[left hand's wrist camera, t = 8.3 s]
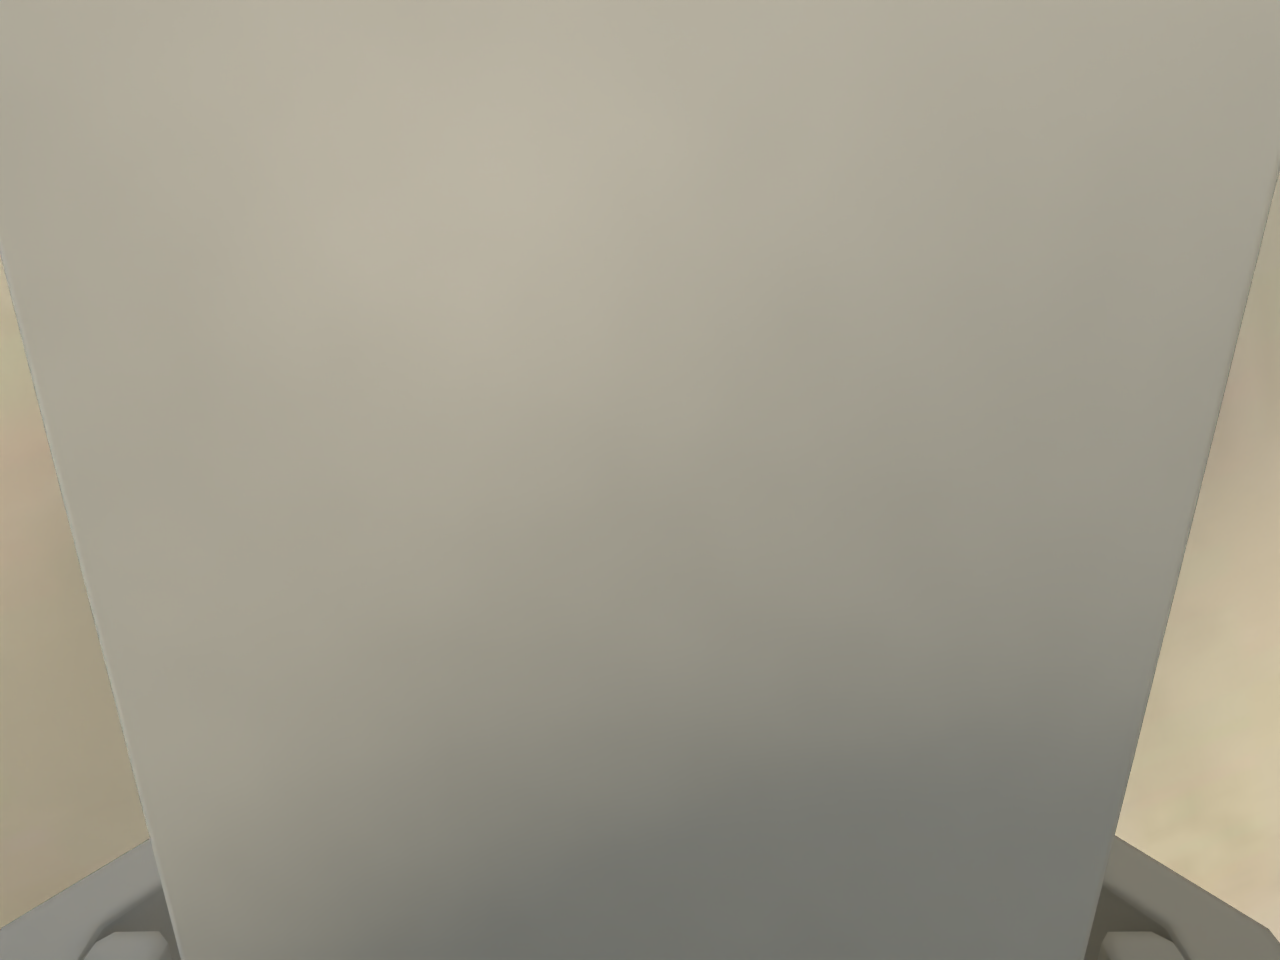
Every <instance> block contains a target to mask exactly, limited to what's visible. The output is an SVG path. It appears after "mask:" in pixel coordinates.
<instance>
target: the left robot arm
mask: <svg viewBox="0 0 1280 960" xmlns="http://www.w3.org/2000/svg"><path fill="white" fill-rule="evenodd" d="M0 960H181V958H180V954H179V950H178V946H177V942H176V938H175V934H174V930H173V926H172V923H171V919H170V915H169V911H168V907H167V903H166V899H165V895H164V891H163V887H162V884H161V880H160V876H159V872H158V868H157V864H156V860H155V856H154V852H153V849H152V845H151V841H150V839H148V840H147V841H145V842H143V843H142V844H140V845H138V846H137V847H135V848H133V849H132V850H130V851H128V852H127V853H125V854H123V855H122V856H120V857H118V858H117V859H115V860H113V861H112V862H110V863H108V864H107V865H105V866H103V867H102V868H100V869H98V870H97V871H95V872H93V873H92V874H90V875H88V876H87V877H85V878H83V879H82V880H80V881H78V882H77V883H75V884H73V885H72V886H70V887H68V888H67V889H65V890H63V891H62V892H60V893H58V894H57V895H55V896H54V897H52V898H50V899H49V900H47V901H45V902H44V903H42V904H40V905H39V906H37V907H35V908H34V909H32V910H30V911H29V912H27V913H25V914H24V915H22V916H20V917H19V918H17V919H15V920H14V921H12V922H10V923H9V924H7V925H5V926H4V927H2V928H1V929H0ZM1084 960H1280V943H1279V942H1278V940H1277V939H1276V938H1275V937H1274V935H1273V934H1272V933H1271V931H1270V930H1269V929H1268V928H1266V927H1264V926H1263V925H1261V924H1260V923H1258V922H1256V921H1255V920H1253V919H1251V918H1250V917H1248V916H1246V915H1245V914H1243V913H1242V912H1240V911H1238V910H1237V909H1235V908H1233V907H1232V906H1230V905H1228V904H1227V903H1225V902H1223V901H1222V900H1220V899H1219V898H1217V897H1215V896H1214V895H1212V894H1210V893H1209V892H1207V891H1205V890H1204V889H1202V888H1201V887H1199V886H1197V885H1196V884H1194V883H1192V882H1191V881H1189V880H1187V879H1186V878H1184V877H1182V876H1181V875H1179V874H1178V873H1176V872H1174V871H1173V870H1171V869H1169V868H1168V867H1166V866H1164V865H1163V864H1161V863H1160V862H1158V861H1156V860H1155V859H1153V858H1151V857H1150V856H1148V855H1146V854H1145V853H1143V852H1141V851H1140V850H1138V849H1137V848H1135V847H1133V846H1132V845H1130V844H1128V843H1127V842H1125V841H1123V840H1122V839H1120V838H1119V837H1117V836H1114V840H1113V844H1112V848H1111V852H1110V856H1109V860H1108V864H1107V868H1106V872H1105V876H1104V880H1103V884H1102V888H1101V892H1100V896H1099V900H1098V904H1097V908H1096V912H1095V916H1094V920H1093V924H1092V928H1091V932H1090V936H1089V941H1088V945H1087V949H1086V953H1085V957H1084Z"/></svg>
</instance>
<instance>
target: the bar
mask: <svg viewBox="0 0 1280 960" xmlns="http://www.w3.org/2000/svg"><path fill="white" fill-rule="evenodd" d="M1279 170H1280V0H0V256H1V260H2V264H3V267H4V271H5V275H6V279H7V283H8V287H9V291H10V295H11V299H12V303H13V306H14V310H15V314H16V318H17V322H18V326H19V330H20V334H21V338H22V342H23V345H24V349H25V353H26V357H27V361H28V365H29V369H30V373H31V377H32V381H33V384H34V388H35V392H36V396H37V400H38V404H39V408H40V412H41V416H42V420H43V423H44V427H45V431H46V435H47V439H48V443H49V447H50V451H51V455H52V459H53V462H54V466H55V470H56V474H57V478H58V482H59V486H60V490H61V494H62V498H63V501H64V505H65V509H66V513H67V517H68V521H69V525H70V529H71V533H72V537H73V540H74V544H75V548H76V552H77V556H78V560H79V564H80V568H81V572H82V576H83V579H84V583H85V587H86V591H87V595H88V599H89V603H90V607H91V611H92V615H93V618H94V622H95V626H96V630H97V634H98V638H99V642H100V646H101V650H102V654H103V657H104V661H105V665H106V669H107V673H108V677H109V681H110V685H111V689H112V693H113V696H114V700H115V704H116V708H117V712H118V716H119V720H120V724H121V728H122V732H123V735H124V739H125V743H126V747H127V751H128V755H129V759H130V763H131V767H132V771H133V774H134V778H135V782H136V786H137V790H138V794H139V798H140V802H141V806H142V810H143V813H144V817H145V821H146V825H147V829H148V833H149V837H150V841H151V845H152V849H153V852H154V856H155V860H156V864H157V868H158V872H159V876H160V880H161V884H162V887H163V891H164V895H165V899H166V903H167V907H168V911H169V915H170V919H171V923H172V926H173V930H174V934H175V938H176V942H177V946H178V950H179V954H180V958H181V960H1084V957H1085V953H1086V949H1087V945H1088V941H1089V936H1090V932H1091V928H1092V924H1093V920H1094V916H1095V912H1096V908H1097V904H1098V900H1099V896H1100V892H1101V888H1102V884H1103V880H1104V876H1105V872H1106V868H1107V864H1108V860H1109V856H1110V852H1111V848H1112V844H1113V840H1114V836H1115V832H1116V828H1117V823H1118V819H1119V815H1120V811H1121V807H1122V803H1123V799H1124V795H1125V791H1126V787H1127V783H1128V779H1129V775H1130V771H1131V767H1132V763H1133V759H1134V755H1135V751H1136V747H1137V743H1138V739H1139V735H1140V731H1141V727H1142V723H1143V719H1144V715H1145V711H1146V706H1147V702H1148V698H1149V694H1150V690H1151V686H1152V682H1153V678H1154V674H1155V670H1156V666H1157V662H1158V658H1159V654H1160V650H1161V646H1162V642H1163V638H1164V634H1165V630H1166V626H1167V622H1168V618H1169V614H1170V610H1171V606H1172V602H1173V598H1174V593H1175V589H1176V585H1177V581H1178V577H1179V573H1180V569H1181V565H1182V561H1183V557H1184V553H1185V549H1186V545H1187V541H1188V537H1189V533H1190V529H1191V525H1192V521H1193V517H1194V513H1195V509H1196V505H1197V501H1198V497H1199V493H1200V489H1201V485H1202V481H1203V476H1204V472H1205V468H1206V464H1207V460H1208V456H1209V452H1210V448H1211V444H1212V440H1213V436H1214V432H1215V428H1216V424H1217V420H1218V416H1219V412H1220V408H1221V404H1222V400H1223V396H1224V392H1225V388H1226V384H1227V380H1228V376H1229V372H1230V368H1231V363H1232V359H1233V355H1234V351H1235V347H1236V343H1237V339H1238V335H1239V331H1240V327H1241V323H1242V319H1243V315H1244V311H1245V307H1246V303H1247V299H1248V295H1249V291H1250V287H1251V283H1252V279H1253V275H1254V271H1255V267H1256V263H1257V259H1258V255H1259V251H1260V246H1261V242H1262V238H1263V234H1264V230H1265V226H1266V222H1267V218H1268V214H1269V210H1270V206H1271V202H1272V198H1273V194H1274V190H1275V186H1276V182H1277V178H1278V174H1279Z"/></svg>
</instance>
